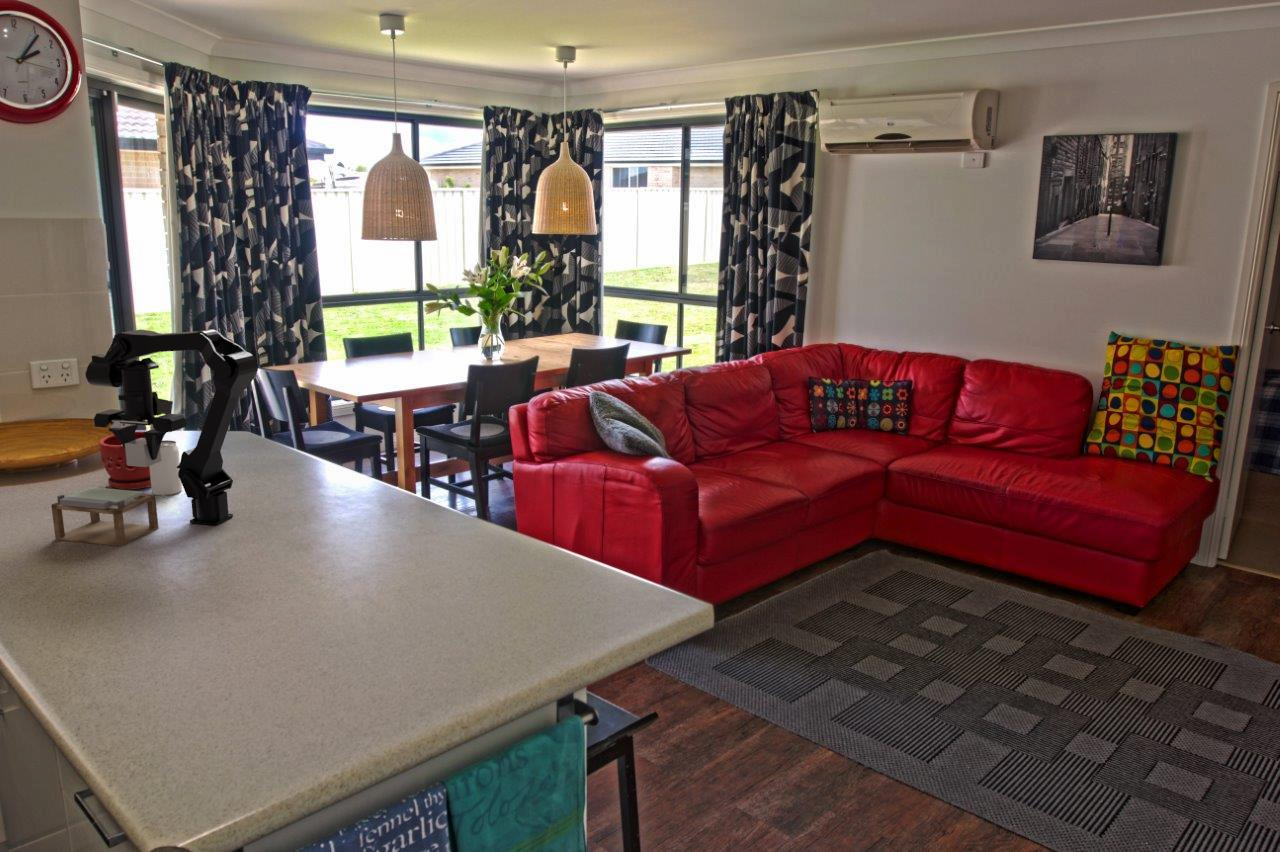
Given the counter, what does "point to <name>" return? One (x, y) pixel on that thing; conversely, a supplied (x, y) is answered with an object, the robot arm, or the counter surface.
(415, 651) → the counter surface
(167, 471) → the can
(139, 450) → the stone
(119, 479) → the plant pot
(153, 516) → the frame
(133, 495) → the trapdoor
